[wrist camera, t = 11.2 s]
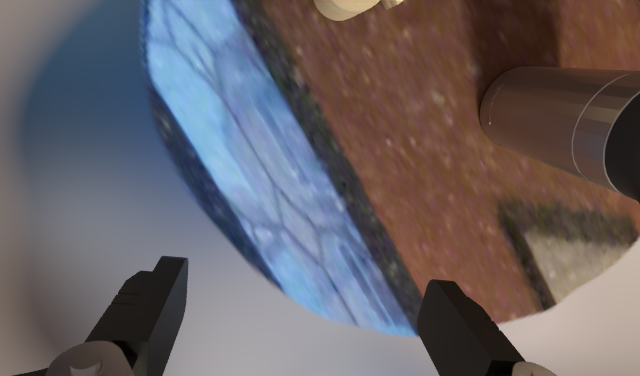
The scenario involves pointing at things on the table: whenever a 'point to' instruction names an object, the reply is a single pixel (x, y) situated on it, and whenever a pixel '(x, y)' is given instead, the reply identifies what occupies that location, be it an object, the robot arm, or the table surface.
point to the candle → (343, 8)
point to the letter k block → (390, 3)
